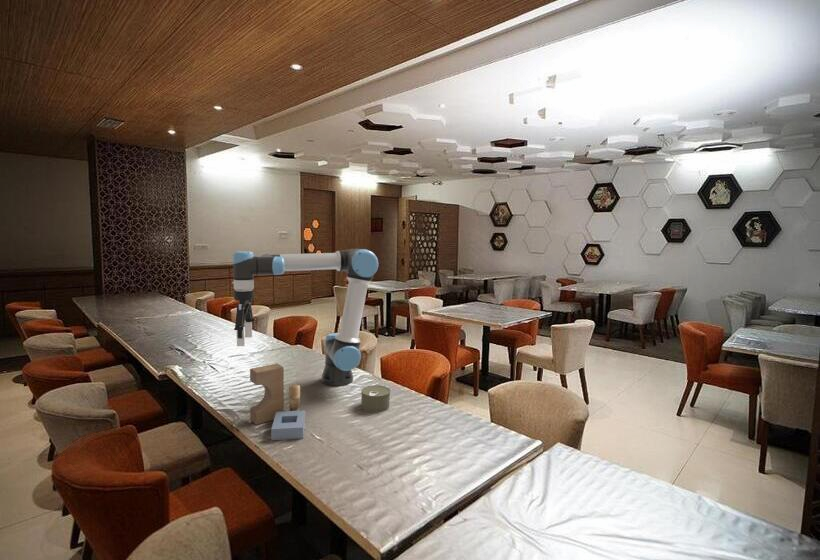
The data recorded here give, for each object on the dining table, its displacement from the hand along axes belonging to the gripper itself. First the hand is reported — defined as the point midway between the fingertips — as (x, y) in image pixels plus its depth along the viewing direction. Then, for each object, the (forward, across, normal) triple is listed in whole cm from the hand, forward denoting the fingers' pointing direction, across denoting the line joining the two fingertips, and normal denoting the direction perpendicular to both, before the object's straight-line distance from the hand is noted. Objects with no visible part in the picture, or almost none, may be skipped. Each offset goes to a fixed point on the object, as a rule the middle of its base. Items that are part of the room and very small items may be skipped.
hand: (244, 341), depth 169 cm
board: (+26, +27, +21) cm, 42 cm away
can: (+26, +9, +53) cm, 60 cm away
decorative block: (+26, +17, +11) cm, 33 cm away
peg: (+26, +16, +21) cm, 37 cm away
